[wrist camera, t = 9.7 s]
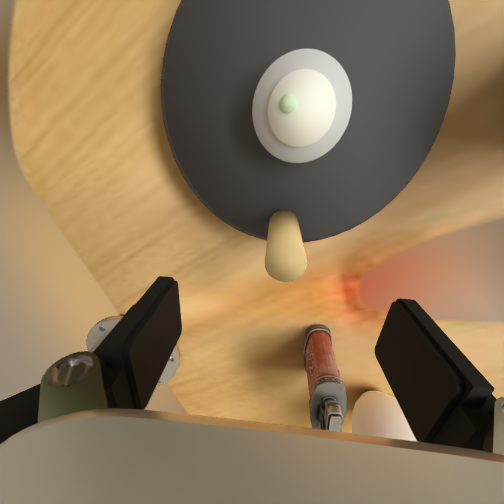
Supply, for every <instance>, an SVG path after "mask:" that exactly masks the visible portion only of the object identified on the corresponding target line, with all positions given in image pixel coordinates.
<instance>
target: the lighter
mask: <svg viewBox="0 0 504 504" xmlns="http://www.w3.org/2000/svg"><path fill="white" fill-rule="evenodd" d="M303 357H304V364H305V369H306V372H307V377H308V386H309V394H310V400H309V408H310V419H311V423H312V427H313V429H320V430H328V431H336V432H341V425H342V423H343V421H344V417H345V414H346V408H347V398H346V391H345V387H344V383H343V381H342V380H341V377H340V373H339V370H338V368H337V364H336V360H335V356H334V352H333V348H332V339H331V334H330V330H329V328H328V327H327V326H326V325H323V324H314V325H311V326H310V327H309V328H308V329H307V332H306V335H305V338H304V345H303Z"/></svg>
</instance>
